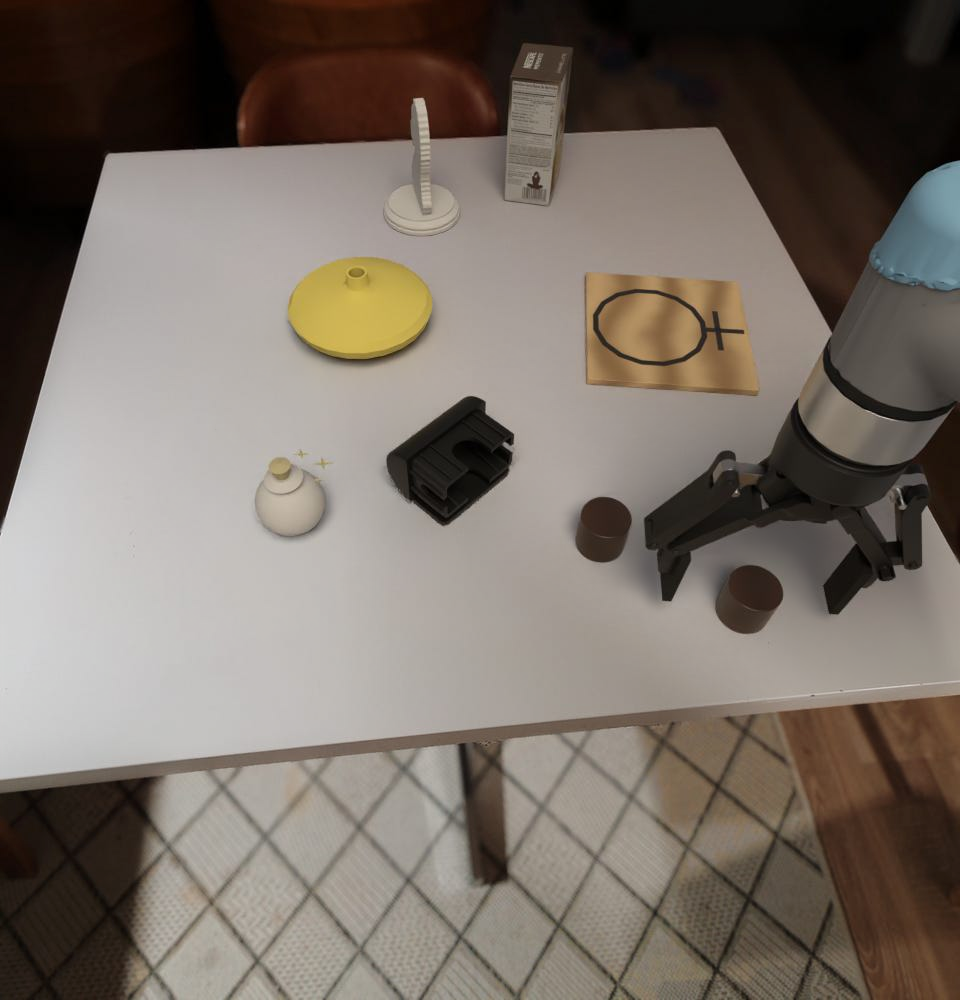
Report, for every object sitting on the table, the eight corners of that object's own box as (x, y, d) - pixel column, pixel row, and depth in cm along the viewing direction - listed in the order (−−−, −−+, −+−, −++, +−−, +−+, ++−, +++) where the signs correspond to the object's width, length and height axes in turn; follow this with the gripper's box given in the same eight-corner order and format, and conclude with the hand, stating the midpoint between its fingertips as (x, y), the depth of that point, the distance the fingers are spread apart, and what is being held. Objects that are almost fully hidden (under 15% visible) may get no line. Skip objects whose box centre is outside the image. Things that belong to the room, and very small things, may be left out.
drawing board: (736, 287, 92) (738, 280, 91) (757, 395, 81) (760, 389, 80) (585, 277, 92) (586, 271, 91) (586, 384, 81) (587, 378, 81)
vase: (461, 316, 88) (461, 264, 82) (370, 395, 80) (363, 344, 74) (357, 263, 93) (350, 211, 87) (262, 333, 85) (248, 281, 79)
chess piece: (451, 188, 103) (450, 71, 91) (467, 231, 97) (468, 112, 85) (378, 196, 101) (367, 78, 89) (390, 240, 96) (380, 121, 84)
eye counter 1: (623, 524, 71) (630, 498, 68) (624, 564, 68) (633, 539, 65) (575, 520, 71) (580, 494, 68) (575, 561, 68) (581, 536, 65)
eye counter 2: (763, 590, 67) (779, 566, 64) (771, 636, 64) (787, 613, 61) (712, 586, 67) (725, 562, 64) (718, 632, 64) (732, 609, 61)
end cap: (461, 431, 77) (461, 383, 72) (514, 470, 74) (518, 422, 69) (388, 488, 73) (382, 441, 67) (440, 531, 70) (439, 486, 64)
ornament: (265, 496, 72) (240, 424, 64) (345, 491, 72) (331, 419, 64) (260, 551, 68) (233, 481, 60) (344, 545, 69) (329, 476, 61)
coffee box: (514, 164, 107) (522, 40, 94) (560, 170, 106) (574, 46, 93) (502, 201, 101) (509, 74, 88) (550, 207, 101) (564, 81, 88)
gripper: (1043, 392, 48) (888, 566, 66) (647, 363, 49) (596, 543, 66) (1090, 487, 44) (910, 647, 61) (654, 454, 45) (598, 622, 62)
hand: (747, 593), depth 64 cm, fingers open, 13 cm apart
